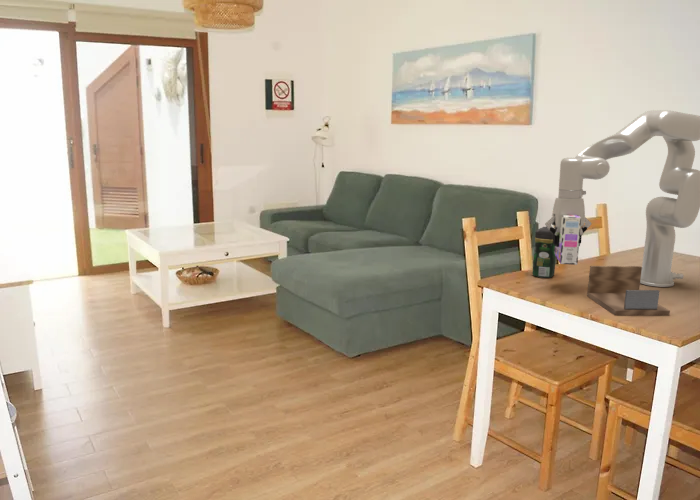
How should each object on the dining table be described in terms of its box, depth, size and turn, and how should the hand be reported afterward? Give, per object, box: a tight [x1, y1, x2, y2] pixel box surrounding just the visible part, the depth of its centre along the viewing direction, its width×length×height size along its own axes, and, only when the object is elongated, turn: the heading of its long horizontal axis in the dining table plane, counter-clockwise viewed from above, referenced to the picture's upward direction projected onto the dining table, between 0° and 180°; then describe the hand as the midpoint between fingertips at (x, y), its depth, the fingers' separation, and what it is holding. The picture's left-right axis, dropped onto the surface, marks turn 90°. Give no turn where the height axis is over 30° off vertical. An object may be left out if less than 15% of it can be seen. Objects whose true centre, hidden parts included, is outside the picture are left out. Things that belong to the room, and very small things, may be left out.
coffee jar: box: [532, 226, 557, 279], centre depth 224 cm, size 10×8×19 cm
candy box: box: [555, 215, 581, 266], centre depth 205 cm, size 14×6×16 cm, turn 169°
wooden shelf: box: [586, 265, 671, 316], centre depth 189 cm, size 17×20×10 cm
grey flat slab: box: [624, 289, 660, 310], centre depth 181 cm, size 10×1×6 cm, turn 92°
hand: (566, 245), depth 205 cm, fingers closed on candy box, 6 cm apart
